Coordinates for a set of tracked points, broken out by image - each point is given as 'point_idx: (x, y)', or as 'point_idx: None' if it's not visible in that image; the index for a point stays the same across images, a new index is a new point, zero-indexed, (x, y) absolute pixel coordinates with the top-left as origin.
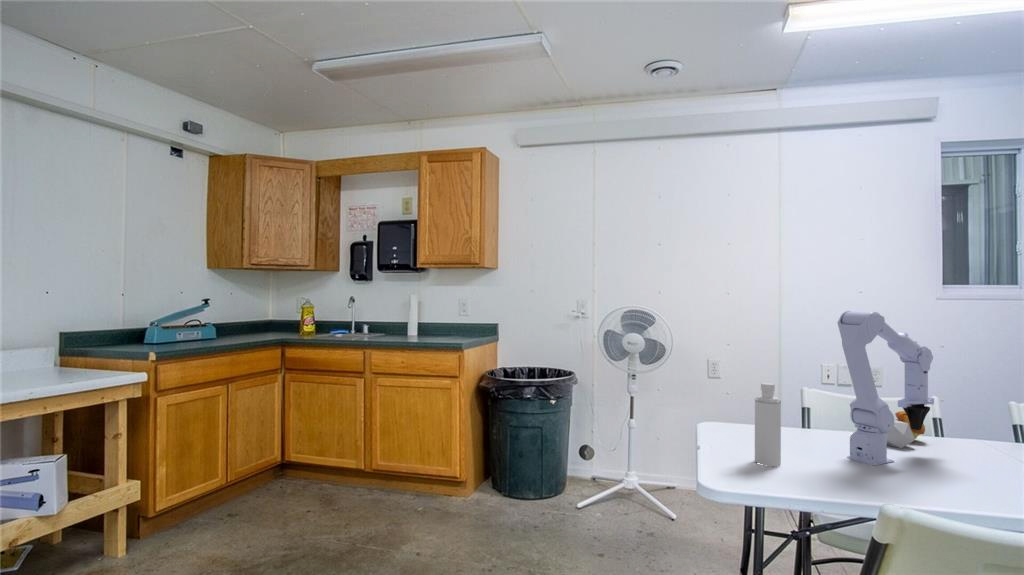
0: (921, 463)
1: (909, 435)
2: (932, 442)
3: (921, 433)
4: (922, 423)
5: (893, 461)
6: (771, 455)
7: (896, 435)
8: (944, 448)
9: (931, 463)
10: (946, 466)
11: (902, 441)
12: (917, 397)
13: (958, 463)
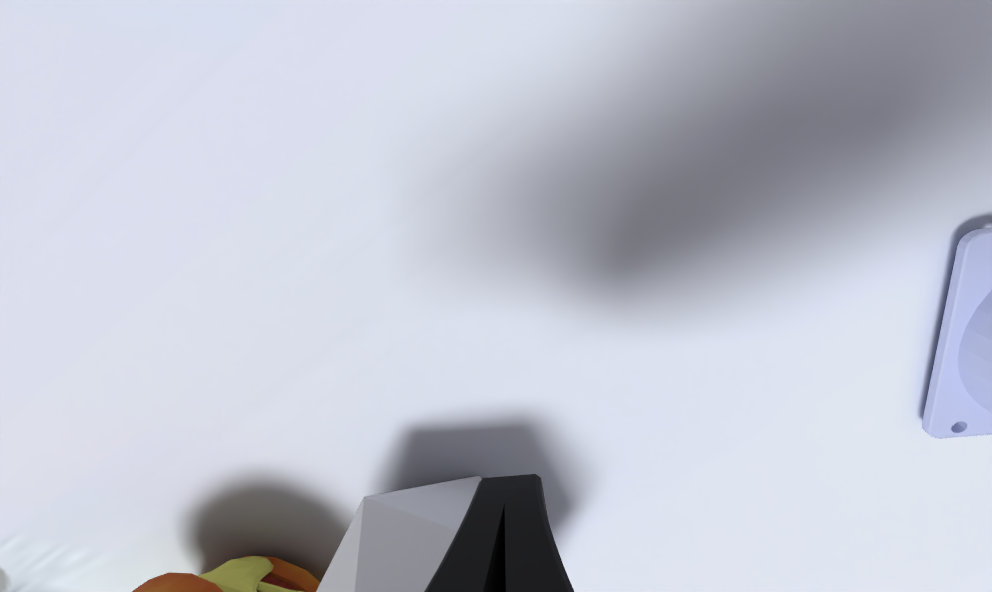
0: (715, 171)
1: (411, 537)
2: (126, 516)
3: (185, 576)
4: (467, 543)
5: (982, 229)
6: None
7: None
8: (152, 413)
9: (626, 150)
10: (586, 43)
11: None
12: None
13: (384, 94)
